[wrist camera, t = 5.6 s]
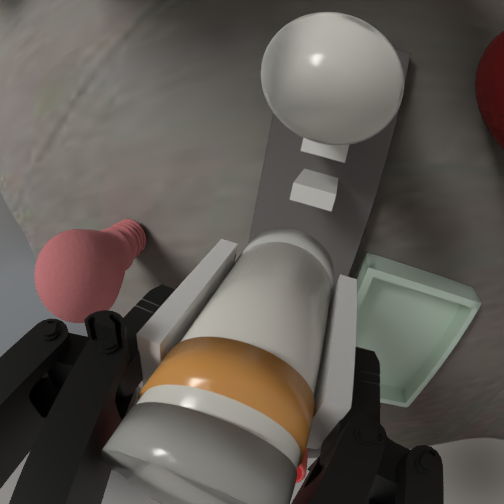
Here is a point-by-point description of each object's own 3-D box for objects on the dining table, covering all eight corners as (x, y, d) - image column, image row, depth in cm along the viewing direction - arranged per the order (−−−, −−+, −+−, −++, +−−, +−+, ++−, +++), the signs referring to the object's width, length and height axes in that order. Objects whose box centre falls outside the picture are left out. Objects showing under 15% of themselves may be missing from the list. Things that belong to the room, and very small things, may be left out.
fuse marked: (248, 215, 14) (76, 416, 4) (348, 243, 13) (315, 511, 4) (233, 296, 16) (118, 482, 7) (318, 322, 15) (262, 538, 6)
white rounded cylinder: (311, 57, 17) (274, 2, 7) (379, 75, 16) (414, 33, 7) (298, 120, 19) (249, 127, 10) (364, 138, 18) (386, 163, 9)
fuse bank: (293, 27, 17) (276, 3, 12) (407, 56, 16) (426, 38, 11) (233, 333, 30) (212, 371, 25) (311, 357, 28) (301, 401, 24)
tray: (366, 252, 22) (368, 267, 20) (472, 286, 21) (481, 303, 19) (317, 367, 29) (313, 385, 27) (406, 389, 27) (407, 407, 25)
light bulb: (180, 228, 26) (87, 302, 16) (153, 280, 30) (76, 356, 20) (122, 183, 26) (18, 233, 16) (103, 239, 30) (18, 297, 20)
